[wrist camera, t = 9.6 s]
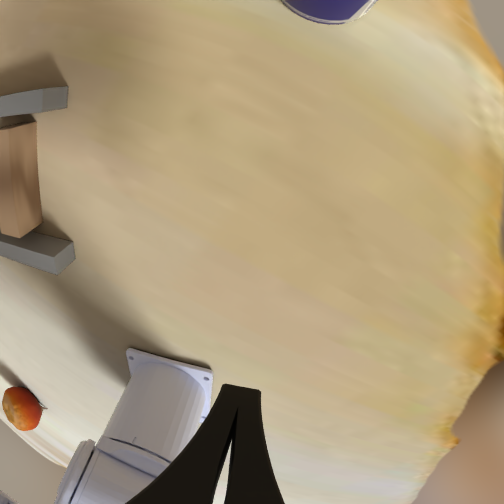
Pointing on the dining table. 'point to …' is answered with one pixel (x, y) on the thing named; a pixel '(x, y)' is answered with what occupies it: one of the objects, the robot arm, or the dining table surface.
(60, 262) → the dock
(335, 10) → the energy drink
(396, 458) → the dining table surface
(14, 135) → the t block
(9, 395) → the fruit
